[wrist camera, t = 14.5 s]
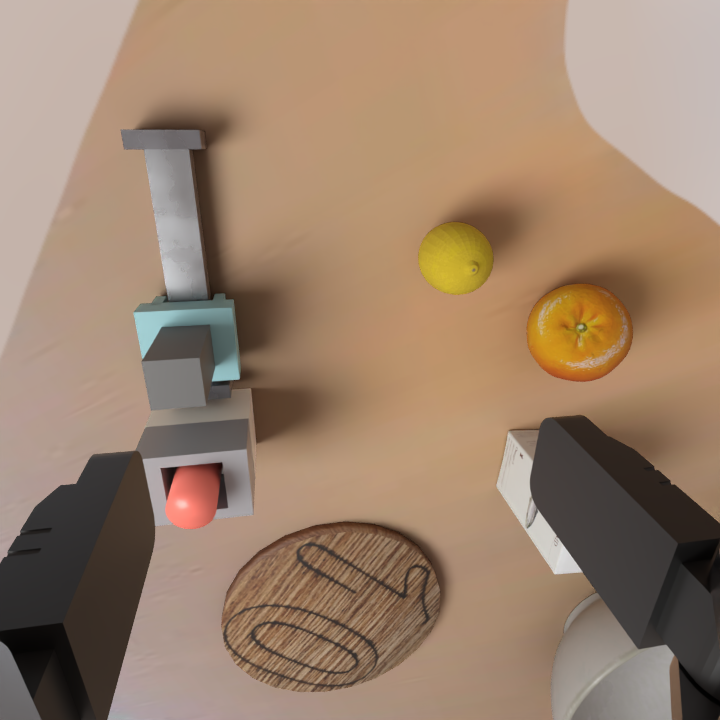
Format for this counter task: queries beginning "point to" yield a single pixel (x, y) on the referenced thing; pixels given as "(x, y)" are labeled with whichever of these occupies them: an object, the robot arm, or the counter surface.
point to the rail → (178, 216)
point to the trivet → (330, 607)
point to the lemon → (455, 258)
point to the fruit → (579, 332)
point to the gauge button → (194, 495)
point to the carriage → (186, 349)
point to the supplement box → (530, 500)
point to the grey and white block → (203, 451)
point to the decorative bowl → (607, 670)
